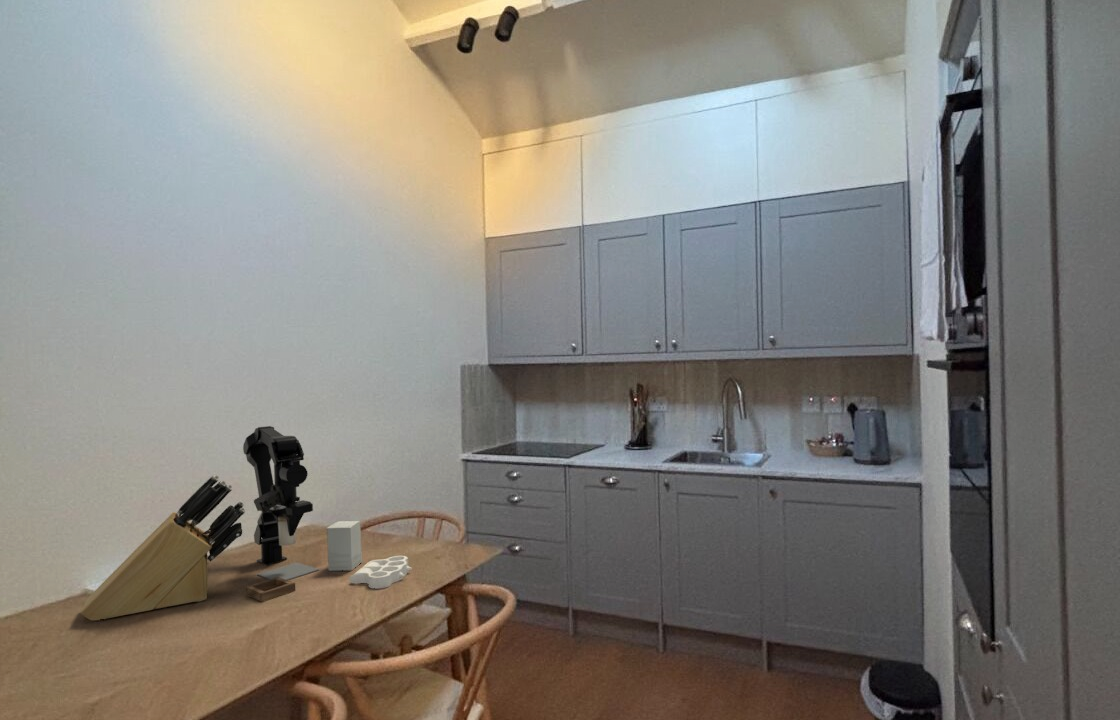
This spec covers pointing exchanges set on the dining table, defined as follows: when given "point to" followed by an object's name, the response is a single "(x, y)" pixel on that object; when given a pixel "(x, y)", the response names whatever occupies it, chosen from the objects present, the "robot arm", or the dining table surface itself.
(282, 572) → the mat
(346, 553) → the supplement box
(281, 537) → the jar
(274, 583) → the pocket frame
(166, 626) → the dining table surface
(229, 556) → the dining table surface
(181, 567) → the knife block
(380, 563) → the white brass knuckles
